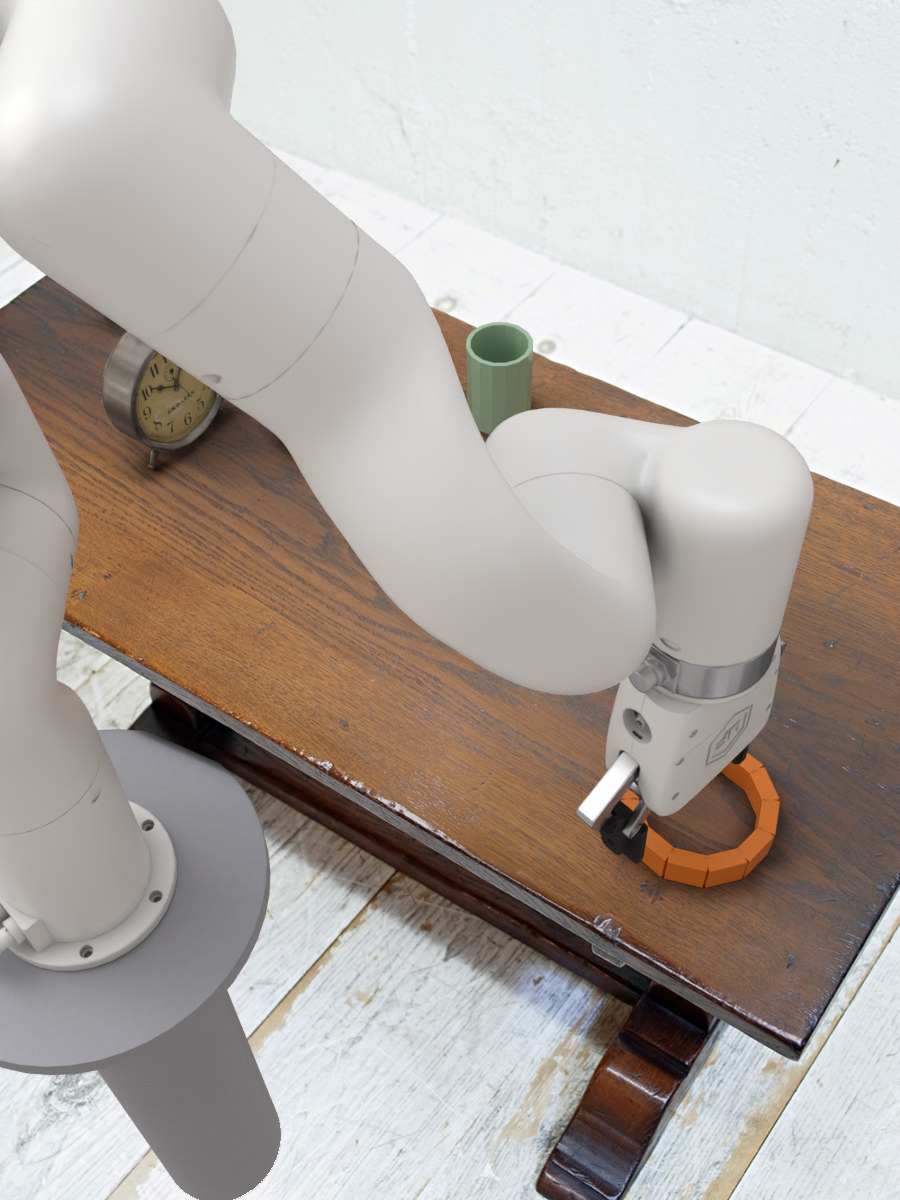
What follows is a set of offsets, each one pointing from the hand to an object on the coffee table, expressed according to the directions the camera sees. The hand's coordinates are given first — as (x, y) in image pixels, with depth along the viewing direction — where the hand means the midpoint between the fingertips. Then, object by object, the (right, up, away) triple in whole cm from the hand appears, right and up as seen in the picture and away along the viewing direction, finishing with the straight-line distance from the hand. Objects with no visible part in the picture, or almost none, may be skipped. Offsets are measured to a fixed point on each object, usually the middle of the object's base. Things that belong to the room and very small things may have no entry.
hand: (672, 796), depth 80 cm
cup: (-10, +29, +34) cm, 46 cm away
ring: (+3, -3, +8) cm, 9 cm away
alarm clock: (-38, +26, +33) cm, 57 cm away
